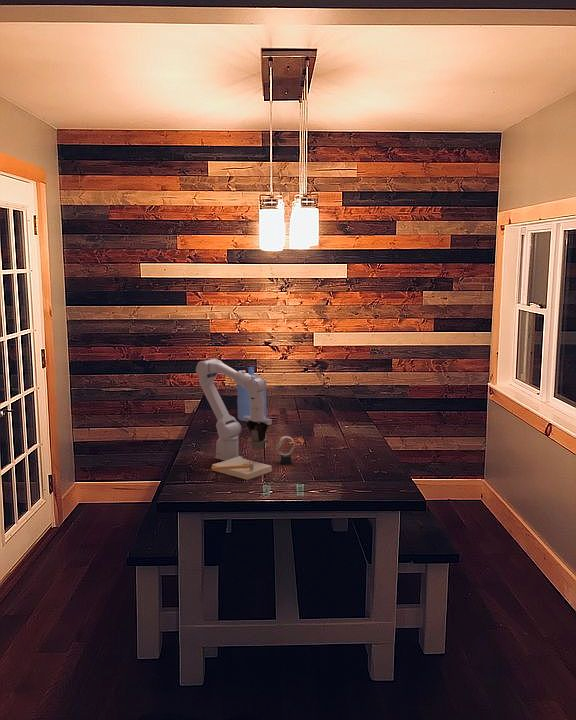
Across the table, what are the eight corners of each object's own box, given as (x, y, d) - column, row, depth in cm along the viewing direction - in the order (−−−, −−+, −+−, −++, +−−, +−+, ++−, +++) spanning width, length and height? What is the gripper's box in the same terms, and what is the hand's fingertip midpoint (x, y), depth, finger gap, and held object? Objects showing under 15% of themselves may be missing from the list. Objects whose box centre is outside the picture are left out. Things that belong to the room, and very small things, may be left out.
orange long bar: (212, 472, 268) (211, 466, 267) (211, 471, 270) (211, 465, 269) (254, 469, 271) (253, 463, 270) (253, 468, 272) (253, 462, 272)
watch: (276, 460, 293) (275, 435, 291) (295, 460, 293) (294, 435, 291) (276, 464, 287) (275, 438, 286) (295, 464, 287) (295, 438, 286)
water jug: (266, 422, 362) (265, 369, 358) (236, 422, 363) (235, 369, 359) (267, 415, 378) (266, 365, 374) (238, 415, 378) (237, 365, 374)
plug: (248, 448, 287) (247, 426, 286) (258, 445, 291) (257, 423, 290) (258, 450, 283) (257, 428, 282) (268, 447, 287) (267, 425, 286)
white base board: (212, 470, 280) (212, 464, 280) (236, 462, 291) (236, 457, 290) (247, 479, 267) (247, 474, 267) (271, 471, 278) (271, 465, 277)
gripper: (276, 407, 283) (277, 439, 285) (251, 403, 293) (252, 435, 295) (264, 410, 278) (265, 443, 280) (239, 406, 288) (240, 438, 289)
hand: (258, 439), depth 287 cm, fingers closed on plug, 4 cm apart
